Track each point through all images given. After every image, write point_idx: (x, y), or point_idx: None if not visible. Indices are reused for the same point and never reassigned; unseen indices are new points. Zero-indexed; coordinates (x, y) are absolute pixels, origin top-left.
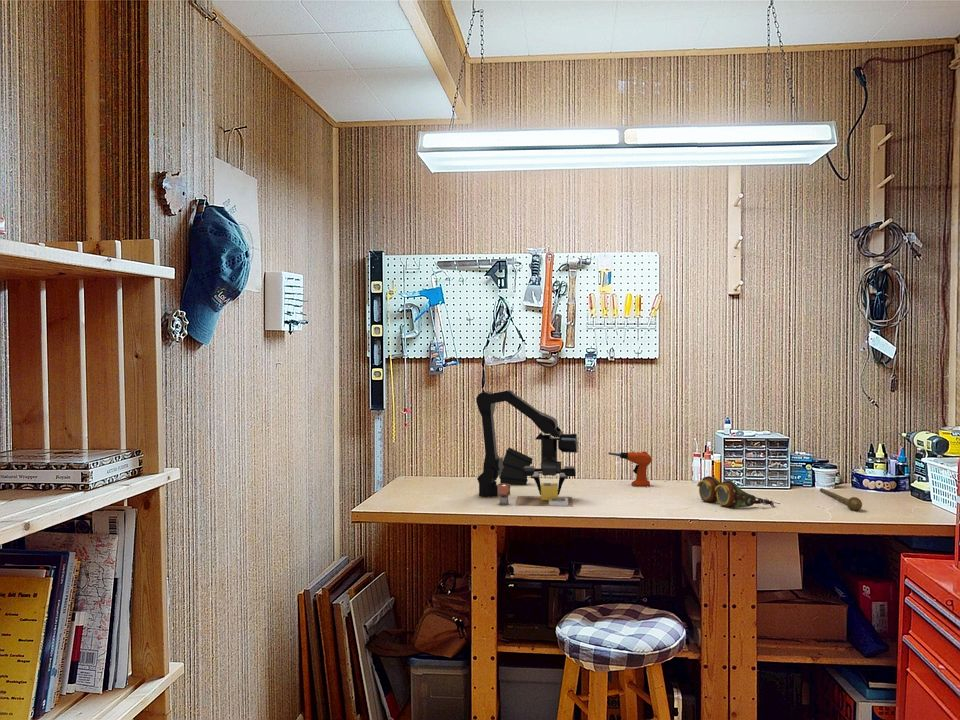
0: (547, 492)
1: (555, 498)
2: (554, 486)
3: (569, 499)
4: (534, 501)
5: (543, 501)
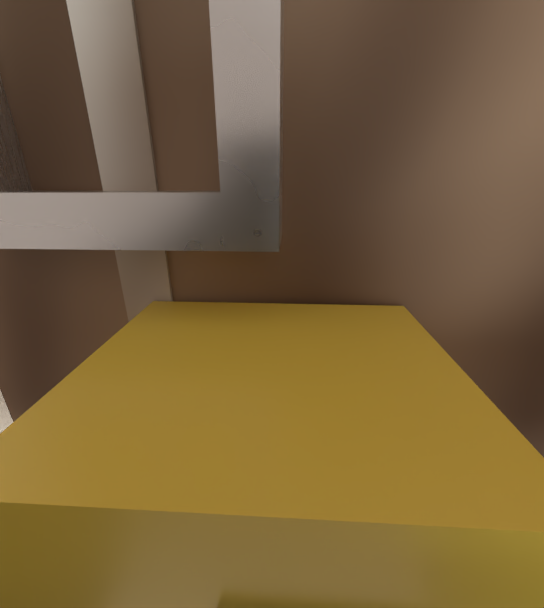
0: (311, 372)
1: (151, 194)
2: (52, 500)
3: (29, 380)
4: (525, 227)
5: (371, 237)
